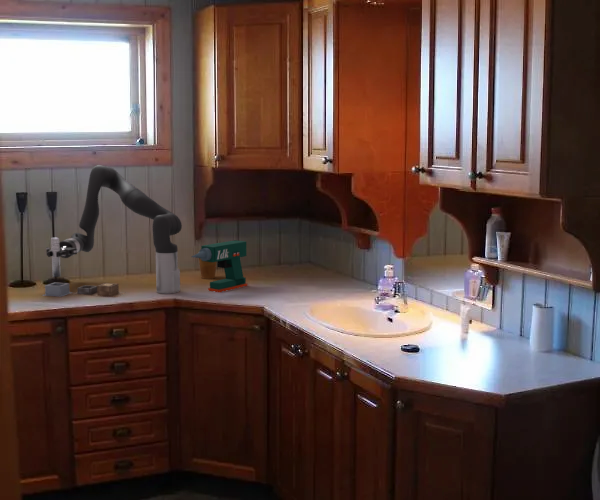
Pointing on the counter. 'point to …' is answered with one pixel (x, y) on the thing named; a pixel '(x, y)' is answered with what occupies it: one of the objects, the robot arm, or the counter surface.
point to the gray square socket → (57, 289)
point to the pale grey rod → (55, 257)
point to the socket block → (99, 290)
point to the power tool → (225, 263)
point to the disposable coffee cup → (207, 269)
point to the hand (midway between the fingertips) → (53, 254)
